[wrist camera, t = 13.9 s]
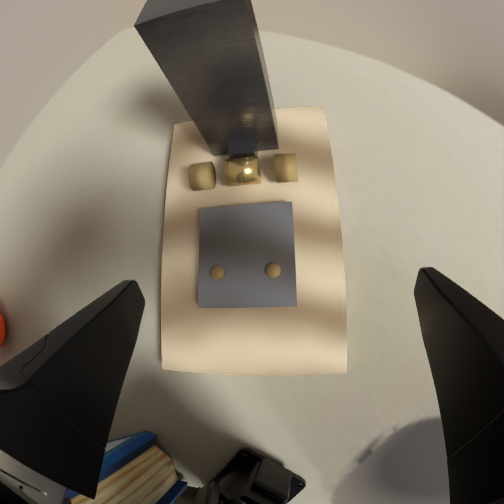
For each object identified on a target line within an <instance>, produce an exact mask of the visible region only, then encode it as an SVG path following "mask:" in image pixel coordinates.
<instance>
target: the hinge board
mask: <svg viewBox="0 0 504 504" xmlns="http://www.w3.org/2000/svg"><path fill="white" fill-rule="evenodd" d="M275 113H276V119H277V129H278V142H279V149H276V150H265V151H258V157H259V161H260V167H261V184H251V185H241V186H230V187H229V186H228V184H227V181H226V177H225V160H226V159H229V156H228V155H220V156H214V155H213V153H212V152H211V150H210V148H209V147H208V145H207V143H206V142H205V140H204V138H203V137H202V135H201V133H200V132H199V130H198V128H197V127H196V125H195V123H194V122H193V121H188V122H183V123H178V124H174V130H173V137H172V145H171V153H170V161H169V170H168V180H167V190H166V201H165V214H164V229H163V247H162V272H161V351H162V369H163V370H173V371H183V372H195V373H208V374H226V375H261V376H283V375H317V374H335V373H347V323H346V294H345V275H344V260H343V247H342V235H341V225H340V215H339V206H338V197H337V189H336V182H335V174H334V167H333V160H332V154H331V147H330V141H329V135H328V130H327V124H326V119H325V113H324V108H323V106H310V107H293V108H281V109H275Z"/></svg>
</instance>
